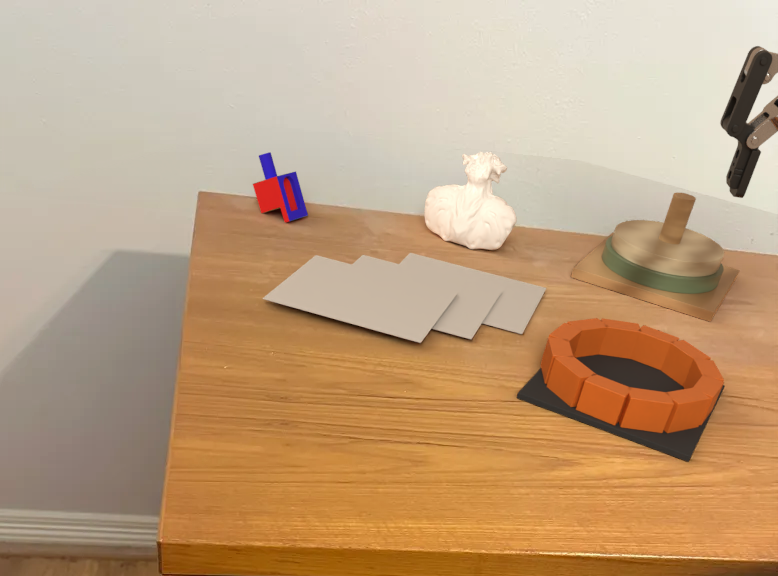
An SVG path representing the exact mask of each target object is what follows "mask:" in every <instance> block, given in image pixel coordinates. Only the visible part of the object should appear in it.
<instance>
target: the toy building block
mask: <svg viewBox="0 0 778 576" xmlns="http://www.w3.org/2000/svg"><path fill="white" fill-rule="evenodd" d="M258 159H259V163H260V164H261V170H262V172H263V176H264V180H260V181H258V182H254V183H252V187H253V189H254V193H255V196H256V200H257V205H258V207H259V210H260V213H261V214H264V213H267V212H271V211H274V210H277V209H280V212H281V215H282V218H283V221H284V223H288V222H289V223H290V222H292V221H295V220H298V219H302V218H305V217H308V216H309V214H308V210H307V207H306V202H305V199H304V196H303V192H302V189H301V185H300V180H299V178H298V173H297V171H296V170H295V171H292V172H289V173H284V174H280V175H278V174H277V173H278V172H277V170H276V166H275V163H274V160H273V156H272V153H271V152H265V153H262V154H258Z"/></svg>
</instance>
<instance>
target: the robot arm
mask: <svg viewBox="0 0 778 576" xmlns="http://www.w3.org/2000/svg"><path fill="white" fill-rule="evenodd" d="M777 74H778V52H777V53H776V52H773V51H768V50H767V49H766V48H764V47H762V46H760V45H757V46H756V45H755V46H753V47H751V49H749V51H748V52H747V55H746V57H745V61H744V63H743V65H742V67H741V70H740V72H739V74H738V77H737V79H736V83H735V84H734V87H733V89H732V92H731V94H730V97H729V99H728V101H727V104H726V107H725V109H724V111H723V113H722V116H721V118H720V122H719V124H720V127H721V128H722V129H723V130H724V131H725V133H726V134H727V135H728V136H729V137H732V138H734V139H735V140H737V146H736V149H735V152H734V155H733V157H732V160H731V162H730V166H729V168H728V171H727V174H726V176H725V178H726V179H725V180H726V181H725V182H726V185H727V186H728V187H729V193H730V194H731V196H732V197H734V198H740V199H743V198H744V197H745V195H746V193H747V191H748V188H749V185H750V183H751V179H752V178H753V174H754V172H755V169H756V167H757V164H758V161H759V159H760V156H761V154H762V151H761V150H760V149H759V148H760V147H761V146H762V145H763V144H765V142H766V141H768V140H769V139H770V138H772V137H773V136H774V135H775V134H777V133H778V95H776V96H775V97H774V98H773V99H772V100H770V101H769V102H768V103H767V104H766V105H765V106H764V107H763V109H762V111H761V112H759V113H758V114H756V116H755V117H753V118H752V119H751V120H750V121H748V119H749V118H750V114H751V112H752V110H753V108H754V105H755V103H756V100H757V98H758V95H759V94H760V90H761V88H762V86H763V85H768V84H769V83H770V82H772V80H773V79H774V77H775V75H777Z"/></svg>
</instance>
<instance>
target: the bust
mask: <svg viewBox="0 0 778 576" xmlns="http://www.w3.org/2000/svg"><path fill="white" fill-rule="evenodd" d="M461 157H462V160H463V162H462V165H463V166H465V168H464V173H465V174H466V176H467V181H466V184H464V185H460V184H456V183H454V184H445V185H437V186H435V187H433V188H432V189H431V190H429V191H428V193H427V195H426V198H425V202H424V209H423V210H424V211H423V215H424V217H423V218H424V222H425V226H426V228H427V229H428V230H429V231H431V232H432V233H434V234H435V235H438V236H439V237H440V238H441V239H442V240H443V241H444V242H451V243H455V244H458V245H461V246H464V247H467V248H468V249H470V250H479V249H482V250H487V251H488V250H489V251H496V250H499V249H500V248H501V247H502V245H503V244H504V243H505V241H506V240H507V238H508V237H509V236H510V234H511V233H512V231H513V229H514V228H515V226H516V223H517V222H518V218H517V215H516V212H515V210H514V207H512V206H511V205H510V204H509V203H508V202H507V201H506V200H505V199H504V198H502V197H501V196H498V195H494V194H493V192H494V191H493V187H492V184H493V183H492V182H494V183H496V184H500V180H501V179H500V178H501V174H505V173H506V172H507V170H508V166H507V165H505V164H504V163H503V162H502V161H501V158H500V157H499V156H498V155H496V154H495V153H492V151H486V152H483V151H479V152H477V153H475V154H470V155H467V154H466V153H462V155H461Z"/></svg>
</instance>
